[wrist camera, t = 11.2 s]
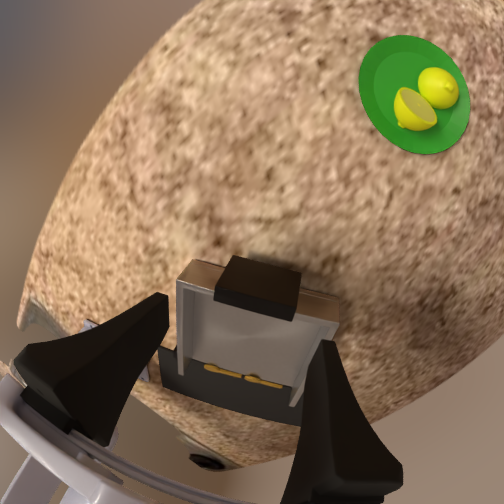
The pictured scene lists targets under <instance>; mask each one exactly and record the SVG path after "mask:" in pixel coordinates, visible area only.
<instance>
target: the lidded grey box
mask: <svg viewBox="0 0 504 504" xmlns="http://www.w3.org/2000/svg"><path fill="white" fill-rule="evenodd" d="M301 276H302V273H301V272H297V271H293V270H289V269H285V268H281V267H278V266H274V265H270V264H266V263H262V262H258V261H254V260H251V259H247V258H243V257H239V256H235V255H233V256H232V258H231V259H230V261H229V263H228V264H227V266H226V268H222V267H219V266H215V265H211V264H208V263H204V262H201V261H197V260H193V259H192V261H191V262H190V263H189V264H188V265H187V267H186V268H185V269H184V270H183V272H182V273H181V274H180V275H179V277H178V278H177V279H176V327H177V357H178V374H180V375H183V376H184V374H185V372H186V370H187V368H188V366H189V364H190V362H191V360H192V359H195V360H198V361H201V362H204V363H207V364H210V365H213V366H216V367H219V368H223V369H226V370H229V371H233V372H236V373H240V374H243V375H247V376H251V377H255V378H258V379H262V380H266V381H270V382H274V383H278V384H282V385H286V386H291V387H292V389H291V395H290V401H289V406H291V407H295V405H296V403H297V402H298V400H299V398H300V397H301V395H302V393H303V392H304V385H305V380H306V374H307V369H308V365H309V363H310V361H311V359H312V357H313V355H314V353H315V351H316V349H317V347H318V345H319V343H320V341H321V339H326V340H330V341H331V340H332V338H333V336H334V334H335V332H336V330H337V329H338V327H339V325H340V312H339V298H338V297H334V296H330V295H326V294H322V293H318V292H314V291H310V290H306V289H302V288H300V283H301Z"/></svg>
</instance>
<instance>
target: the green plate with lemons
mask: <svg viewBox="0 0 504 504" xmlns="http://www.w3.org/2000/svg"><path fill="white" fill-rule="evenodd" d="M359 92H360V96H361V100H362V104H363V106H364V108H365V111H366V113H367V115H368V117H369V118H370V120H371V121H372V123H373V125H374V126H375V127H376V128H377V129H378V130H379V132H380V133H381V134H382V135H383V136H384V137H386V138H387V139H388V140H389V141H390V142H392V143H393V144H395V145H397V146H398V147H400V148H402V149H404V150H407V151H410V152H413V153H420V154H433V153H437V152H441V151H444V150H446V149H447V148H449V147H451V146H452V145H453V144H454V143H455V142H457V141H458V140H459V139H460V137H461V135H462V134H463V132H464V131H465V128H466V126H467V123H468V120H469V114H470V98H469V92H468V88H467V85H466V82H465V80H464V77H463V75H462V74H461V72H460V70H459V68H458V67H457V65H456V64H455V63H454V62H453V60H452V59H451V58H450V57H449V56H448V55H447V54H446V53H445V52H444V51H443V50H441V49H440V48H439V47H437V46H436V45H434V44H432V43H431V42H429V41H426V40H424V39H422V38H418V37H414V36H409V35H397V36H392V37H388V38H385V39H383V40H381V41H379V42H378V43H376V44H375V45H374V46H373V47H372V48H371V49H370V50H369V51H368V53H367V54H366V56H365V57H364V59H363V62H362V64H361V67H360V73H359Z"/></svg>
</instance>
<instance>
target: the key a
mask: <svg viewBox="0 0 504 504" xmlns="http://www.w3.org/2000/svg"><path fill="white" fill-rule="evenodd" d="M204 368H205V369H207V370H209V371H212V372H217V373H223V374H226V375H230V376H234V377H238V378H241V376H242V374H239V373H235V372H231V371H227V370H223V369H220V368H218V367H216V366H213V365H208V364H205V365H204Z"/></svg>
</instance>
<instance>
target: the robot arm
mask: <svg viewBox="0 0 504 504" xmlns="http://www.w3.org/2000/svg"><path fill="white" fill-rule="evenodd" d="M84 325H85V326H84V327H83V328H82V329H81V330H80V331H79V333H78V334H75V335H72V336H68V337H65V338H61V339H57V340H52V341H47V342H40V343H33V344H28V345H27V346H26V347H25V348H24V349H23V350H22V351H21V353H20V354H19V355H18V356H17V357H16V358H15V359H14V365H15V367H16V369H17V370H18V372H19V374H20V375H21V377H22V378H23V379H24V381H25V382H26V384H27V387H26V388H25V389H24V387H23V386H22V385H21V384H20V383H19V382H18V381H16V380H15V379H14V378H13V377H12V376H11V375H10V374H9V373H7V374H6V375H5V376H4V377H3V379H2V380H1V381H0V424H1V426H2V427H3V428H4V429H5V430H6V431H7V432H8V433H9V434H10V435H11V436H12V437H13V438H14V439H15V440H16V441H17V442H18V443H19V444H20V445H21V446H22V447H23V448H24V449H25V450H26V451H27V452H28V453H29V455H28V457H27V458H26V460H25V461H24V463H23V465H22V466H21V468H20V469H19V471H18V472H17V474H16V476H15V477H14V479H13V481H12V482H11V484H10V486H9V487H8V489H7V491H6V492H5V494H4V496H3V498H2V499H1V501H0V504H48V503H49V502H50V500H51V498H52V496H53V495H54V493H55V491H56V490H57V488H58V486H59V485H60V483H61V482H62V481H63V482H64V483H66V484H67V485H68V486H69V488H68V490H67V491H66V493H65V495H64V497H63V498H62V500H61V502H60V504H162V503H160V502H157V501H155V500H152V499H150V498H148V497H145V496H143V495H141V494H139V493H136V492H134V491H132V490H130V489H128V488H126V487H124V486H122V485H123V480H121V479H120V478H118V477H117V476H115V475H114V474H113V473H112V472H111V471H110V470H109V469H107V468H105V467H104V466H102V465H101V463H103V464H105V465H107V466H109V467H110V468H112V469H115V470H116V471H118V472H120V473H122V474H124V475H126V476H128V477H130V478H132V479H134V480H136V481H138V482H140V483H143V484H145V485H147V486H149V487H151V488H154V489H156V490H159V491H161V492H164V493H166V494H169V495H171V496H174V497H177V498H179V499H182V500H185V501H188V502H191V503H194V504H255V503H249V502H245V501H240V500H236V499H232V498H228V497H224V496H220V495H217V494H213V493H210V492H206V491H203V490H200V489H197V488H194V487H191V486H188V485H185V484H182V483H179V482H177V481H174V480H171V479H169V478H166V477H164V476H161V475H159V474H157V473H154V472H152V471H150V470H147V469H145V468H143V467H141V466H138V465H136V464H134V463H132V462H130V461H128V460H126V459H124V458H122V457H120V456H118V455H116V454H115V453H113V452H112V450H113V448H114V447H115V445H116V442H117V439H118V428H117V426H116V424H117V421H118V419H119V417H120V414H121V412H122V409H123V407H124V405H125V402H126V401H127V398H128V396H129V394H130V392H131V390H132V388H133V386H134V384H135V382H136V381H137V379H138V378H139V379H141V380H143V381H146V382H149V380H150V379H149V374H148V369H147V364H148V362H149V361H150V359H151V358H152V356H153V355H154V353H155V352H156V350H157V349H158V347H159V346H160V344H161V343H162V341H163V339H164V337H165V335H166V333H167V330H168V328H169V302H168V295H165V294H162V293H159V292H156V293H155V294H153V295H151V296H149V297H148V298H146V299H145V300H143V301H141V302H140V303H138V304H137V305H135V306H133V307H132V308H130V309H128V310H127V311H125V312H123V313H121V314H120V315H118V316H116V317H114V318H112V319H110V320H108V321H107V322H105V323H103V324H100V325H96V324H94V323H92V322H90V321H88V320H84ZM402 485H403V468H402V464H401V463H400V462H399V461H398V460H397V459H396V458H395V457H394V456H393V455H392V454H391V453H390V452H389V450H388V449H387V448H386V447H385V445H384V444H383V443H382V442H381V440H380V439H379V438H378V436H377V434H376V433H375V432H374V430H373V429H372V427H371V426H370V424H369V422H368V421H367V419H366V417H365V416H364V414H363V412H362V410H361V408H360V406H359V404H358V402H357V400H356V398H355V396H354V393H353V391H352V389H351V386H350V384H349V381H348V379H347V376H346V373H345V371H344V368H343V365H342V362H341V359H340V356H339V353H338V349H337V346H336V343H335V341H330V340H326V339H321V341H320V343H319V345H318V347H317V349H316V351H315V353H314V355H313V357H312V359H311V361H310V363H309V365H308V369H307V374H306V380H305V385H304V397H303V409H302V421H301V430H300V436H299V440H298V445H297V449H296V453H295V458H294V461H293V465H292V469H291V472H290V476H289V479H288V482H287V485H286V488H285V491H284V494H283V497H282V500H281V502H280V504H380V503H383V502H384V495H387V494H389V493H391V492H393V491H396V490H398V489H399V488H400V487H401V486H402Z"/></svg>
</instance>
